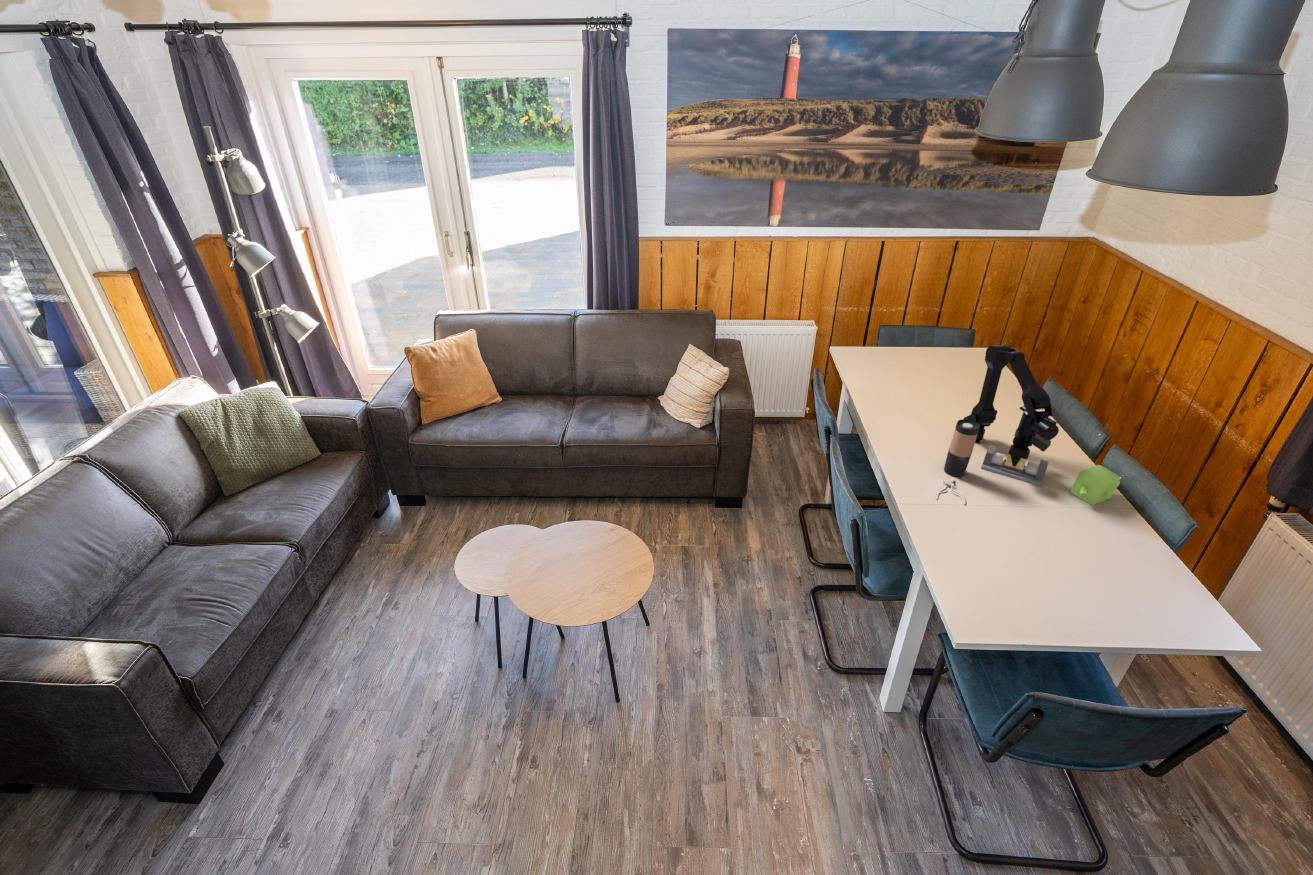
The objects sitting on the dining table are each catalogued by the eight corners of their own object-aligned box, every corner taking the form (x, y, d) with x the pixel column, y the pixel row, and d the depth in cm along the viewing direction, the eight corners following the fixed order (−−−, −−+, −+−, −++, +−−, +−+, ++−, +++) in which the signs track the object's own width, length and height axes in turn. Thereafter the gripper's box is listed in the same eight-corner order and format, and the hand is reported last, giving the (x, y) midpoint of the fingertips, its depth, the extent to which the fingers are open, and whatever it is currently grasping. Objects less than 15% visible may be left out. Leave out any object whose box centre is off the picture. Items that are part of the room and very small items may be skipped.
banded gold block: (1023, 464, 245) (1028, 451, 242) (1022, 470, 241) (1027, 457, 238) (1006, 459, 247) (1010, 446, 244) (1004, 465, 244) (1009, 452, 241)
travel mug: (965, 469, 246) (980, 422, 236) (964, 479, 240) (979, 431, 230) (943, 464, 248) (957, 417, 238) (942, 474, 242) (956, 426, 232)
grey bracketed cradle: (980, 468, 246) (985, 454, 243) (985, 456, 254) (990, 442, 251) (1040, 485, 237) (1046, 471, 234) (1043, 473, 245) (1049, 459, 242)
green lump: (1087, 512, 225) (1098, 490, 220) (1061, 496, 233) (1071, 474, 227) (1120, 498, 232) (1132, 477, 227) (1094, 483, 239) (1104, 461, 234)
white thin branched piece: (936, 496, 228) (933, 473, 240) (934, 500, 229) (932, 477, 241) (966, 502, 226) (962, 478, 238) (965, 506, 226) (961, 482, 239)
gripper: (1050, 443, 225) (1036, 481, 233) (1055, 421, 239) (1041, 458, 247) (1015, 434, 230) (1001, 471, 238) (1022, 413, 244) (1009, 449, 252)
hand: (1014, 462), depth 244 cm, fingers closed on banded gold block, 5 cm apart
